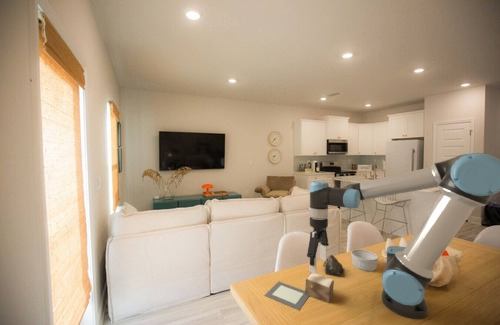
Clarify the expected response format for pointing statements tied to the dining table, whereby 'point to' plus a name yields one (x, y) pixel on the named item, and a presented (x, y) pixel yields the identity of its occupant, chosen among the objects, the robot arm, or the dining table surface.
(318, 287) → the card box
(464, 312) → the dining table surface
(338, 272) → the dark grey rock
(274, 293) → the mat
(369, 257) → the ramekin
